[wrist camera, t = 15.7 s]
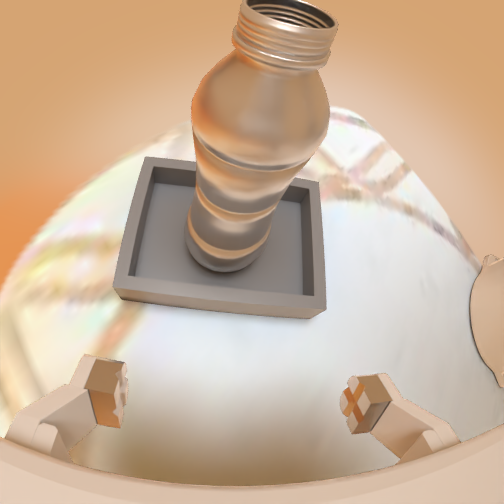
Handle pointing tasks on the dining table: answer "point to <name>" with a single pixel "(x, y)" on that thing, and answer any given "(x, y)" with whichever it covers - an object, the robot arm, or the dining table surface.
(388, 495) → the robot arm
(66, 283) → the dining table surface
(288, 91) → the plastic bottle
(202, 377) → the dining table surface
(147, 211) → the tray
